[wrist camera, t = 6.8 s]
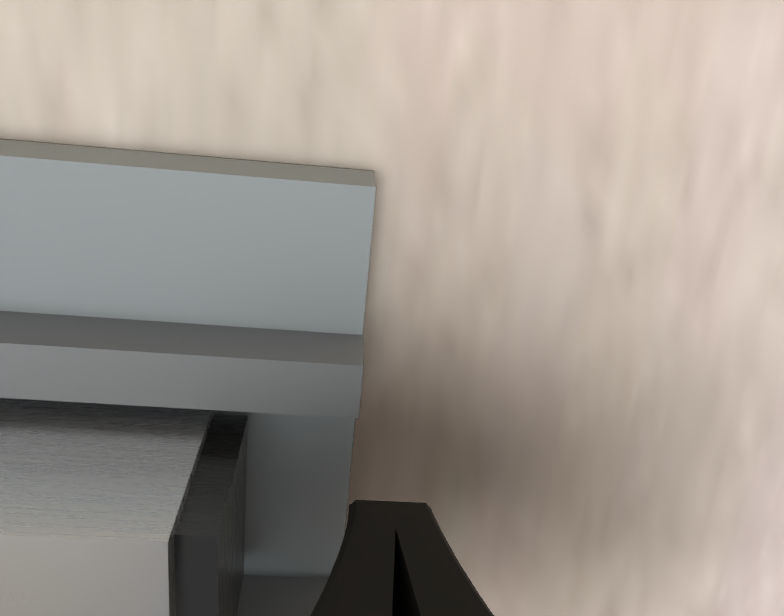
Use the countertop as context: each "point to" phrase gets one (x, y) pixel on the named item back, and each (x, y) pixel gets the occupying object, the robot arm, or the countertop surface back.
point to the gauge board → (201, 320)
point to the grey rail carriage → (120, 509)
